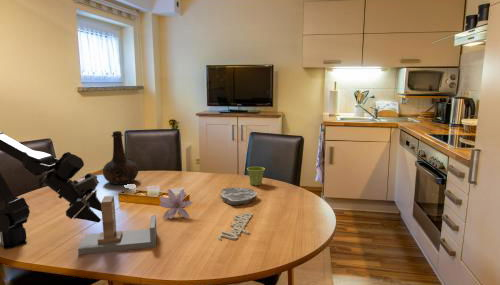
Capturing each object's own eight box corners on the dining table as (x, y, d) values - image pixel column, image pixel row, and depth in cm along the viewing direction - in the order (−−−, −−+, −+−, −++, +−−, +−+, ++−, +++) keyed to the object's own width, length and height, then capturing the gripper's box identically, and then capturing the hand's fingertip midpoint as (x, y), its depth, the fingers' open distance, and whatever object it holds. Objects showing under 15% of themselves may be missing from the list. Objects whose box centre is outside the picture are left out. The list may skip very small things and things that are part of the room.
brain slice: (263, 203, 161) (263, 197, 161) (228, 208, 155) (228, 202, 154) (248, 191, 179) (248, 185, 179) (215, 195, 173) (215, 189, 172)
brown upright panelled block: (120, 241, 119) (117, 201, 116) (97, 243, 117) (94, 202, 115) (122, 233, 124) (119, 195, 122) (101, 235, 123) (98, 196, 120)
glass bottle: (145, 180, 196) (142, 130, 191) (118, 189, 181) (114, 135, 176) (124, 176, 205) (121, 128, 200) (96, 183, 190) (92, 132, 185)
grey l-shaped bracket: (78, 254, 114) (76, 234, 113) (86, 239, 124) (84, 220, 123) (155, 247, 119) (154, 227, 118) (156, 233, 130) (155, 215, 128)
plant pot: (244, 182, 193) (244, 167, 191) (261, 181, 196) (261, 165, 194) (250, 187, 184) (250, 171, 183) (267, 186, 187) (267, 170, 185)
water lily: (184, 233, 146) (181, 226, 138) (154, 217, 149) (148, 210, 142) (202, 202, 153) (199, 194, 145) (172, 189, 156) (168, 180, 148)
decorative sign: (243, 241, 122) (216, 238, 124) (243, 244, 122) (216, 240, 124) (259, 213, 147) (236, 211, 149) (259, 215, 147) (236, 213, 150)
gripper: (74, 176, 106) (115, 208, 110) (87, 161, 124) (122, 190, 128) (47, 202, 105) (90, 234, 110) (64, 184, 123) (100, 212, 128)
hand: (102, 215), depth 119 cm, fingers open, 9 cm apart
